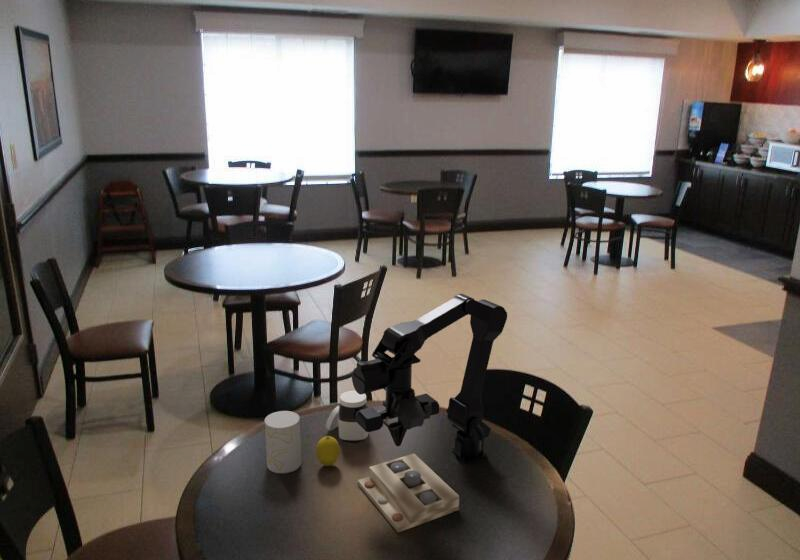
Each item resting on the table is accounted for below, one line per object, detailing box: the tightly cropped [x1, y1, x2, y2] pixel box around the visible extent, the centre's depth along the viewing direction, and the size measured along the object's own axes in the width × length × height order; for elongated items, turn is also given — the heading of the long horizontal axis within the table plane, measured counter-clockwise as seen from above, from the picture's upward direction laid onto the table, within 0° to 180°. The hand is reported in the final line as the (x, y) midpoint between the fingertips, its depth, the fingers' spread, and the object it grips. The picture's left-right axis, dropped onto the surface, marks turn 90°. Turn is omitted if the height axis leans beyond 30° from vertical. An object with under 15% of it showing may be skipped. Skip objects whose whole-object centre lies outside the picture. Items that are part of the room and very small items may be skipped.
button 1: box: [391, 462, 406, 474], centre depth 142 cm, size 4×4×2 cm
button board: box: [357, 453, 460, 533], centre depth 137 cm, size 15×19×4 cm
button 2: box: [420, 492, 436, 505], centre depth 132 cm, size 4×4×2 cm
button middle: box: [404, 470, 421, 488], centre depth 137 cm, size 4×4×2 cm
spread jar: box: [325, 390, 369, 445], centre depth 161 cm, size 12×11×12 cm
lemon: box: [316, 435, 341, 467], centre depth 147 cm, size 6×6×8 cm
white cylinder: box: [264, 410, 302, 474], centre depth 147 cm, size 8×8×12 cm
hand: (397, 445), depth 141 cm, fingers closed
